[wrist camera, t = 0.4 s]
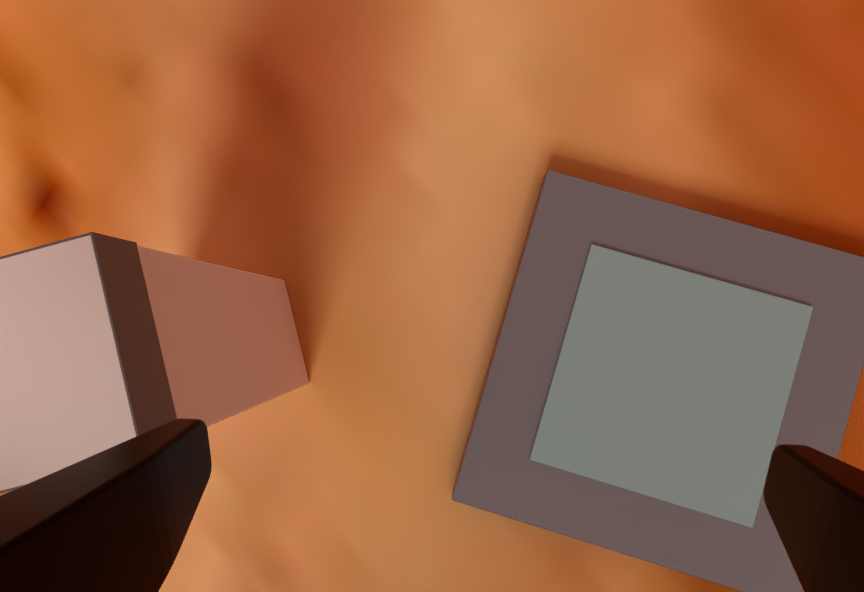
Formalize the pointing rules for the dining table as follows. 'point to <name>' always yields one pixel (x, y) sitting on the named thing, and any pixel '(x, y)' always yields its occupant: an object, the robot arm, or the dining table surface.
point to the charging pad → (662, 380)
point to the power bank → (129, 348)
